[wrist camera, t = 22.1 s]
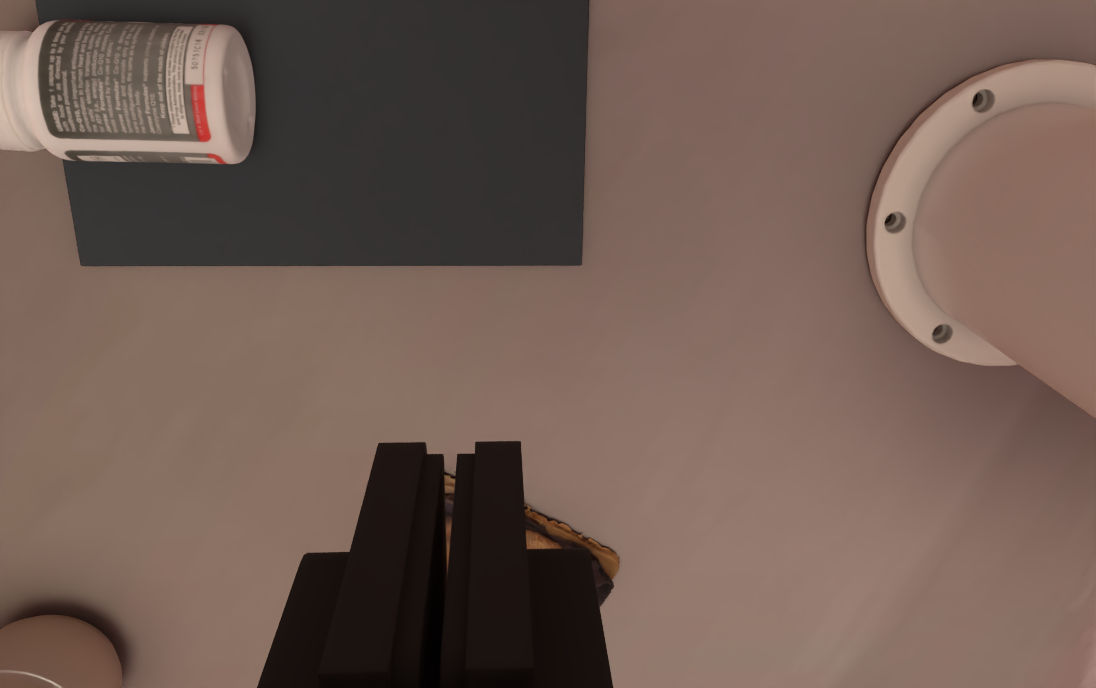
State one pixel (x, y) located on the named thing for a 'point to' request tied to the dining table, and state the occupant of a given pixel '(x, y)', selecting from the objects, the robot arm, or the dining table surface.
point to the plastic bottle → (57, 655)
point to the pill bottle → (128, 92)
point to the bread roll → (553, 542)
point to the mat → (363, 140)
